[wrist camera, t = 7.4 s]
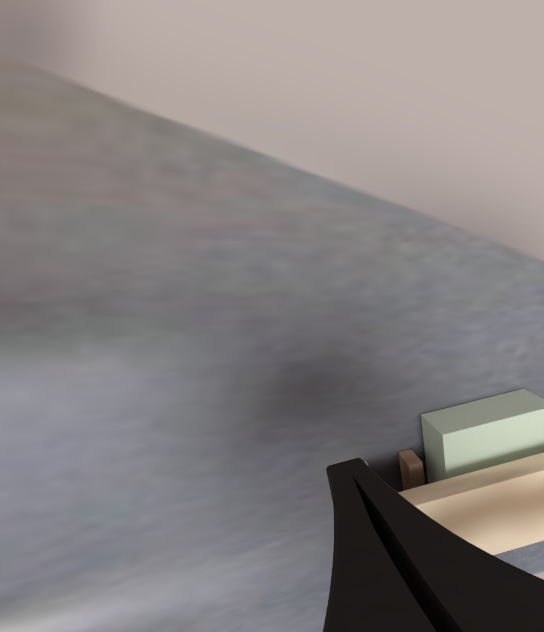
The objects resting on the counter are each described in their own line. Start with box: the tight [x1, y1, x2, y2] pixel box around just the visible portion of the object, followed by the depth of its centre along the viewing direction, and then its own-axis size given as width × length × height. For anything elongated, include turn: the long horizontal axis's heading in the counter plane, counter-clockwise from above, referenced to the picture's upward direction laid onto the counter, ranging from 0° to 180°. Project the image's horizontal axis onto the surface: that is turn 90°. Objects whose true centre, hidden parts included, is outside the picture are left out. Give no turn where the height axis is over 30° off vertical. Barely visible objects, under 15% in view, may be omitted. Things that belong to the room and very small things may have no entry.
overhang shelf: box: [364, 449, 544, 555], centre depth 22 cm, size 6×20×4 cm, turn 102°
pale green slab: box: [421, 389, 544, 484], centre depth 22 cm, size 7×8×2 cm
